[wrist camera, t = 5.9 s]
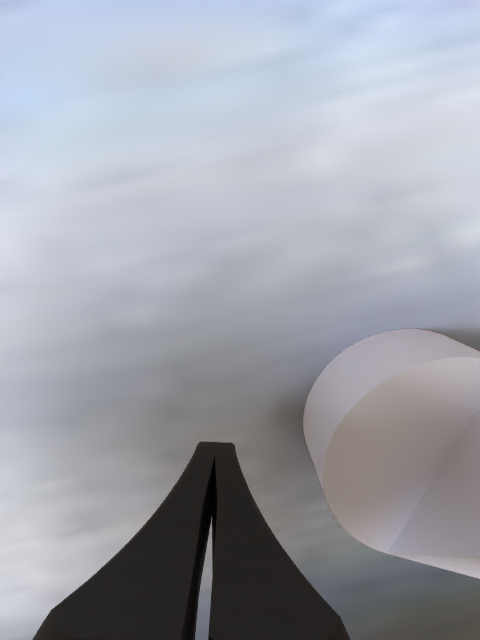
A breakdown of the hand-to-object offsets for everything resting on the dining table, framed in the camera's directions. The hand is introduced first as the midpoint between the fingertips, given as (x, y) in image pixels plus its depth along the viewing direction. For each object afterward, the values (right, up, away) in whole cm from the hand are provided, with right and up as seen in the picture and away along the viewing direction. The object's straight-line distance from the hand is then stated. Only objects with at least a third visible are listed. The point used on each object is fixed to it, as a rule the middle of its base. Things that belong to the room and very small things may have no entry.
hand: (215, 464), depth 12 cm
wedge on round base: (+10, 0, +3) cm, 11 cm away
